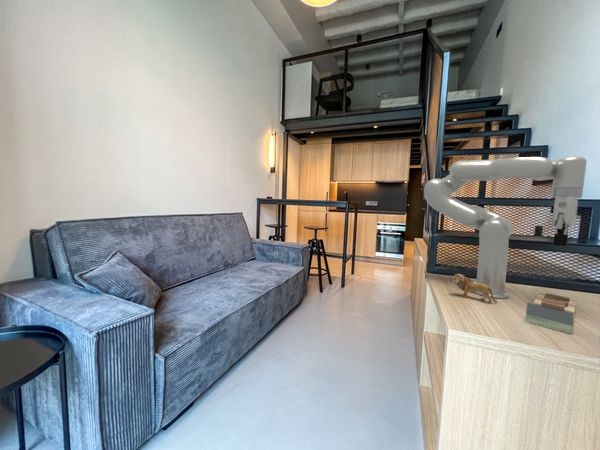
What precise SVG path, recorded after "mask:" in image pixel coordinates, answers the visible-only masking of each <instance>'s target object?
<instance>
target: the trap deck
mask: <svg viewBox="0 0 600 450" xmlns="http://www.w3.org/2000/svg"><path fill="white" fill-rule="evenodd" d="M543 298H544V299H549V300H553V301H558V302H563V303H565V311H568V312H573V313H574V315H573V321H574V319H575V315H576V314H575V313H576V307H577V298H574V297H569V296H563V295H559V294H554V293H549V292H544V291H539V293H538V295H537V296H536V298H535V299H534V301H533V302H532V303H534V304H538V305H541V302H542V300H543ZM524 322H525V323H529V324H533V325H536V326H539V325H541V326H540V327H543V326H545V327H544V328H547V327H549V328H548V329H550V328H552V329H551V330H554V329H555V331H557V330H559V331H558V332H561V331H563V332H562V333H565V332H566V333H565V334H568V333H569V335H572V332H573V331H572V330H573V324H574V322H573V323H572V326H571V325H567V324H563V323H559V322H555V321H551V320H547V319H543V318H540V317H536V316H532V315H528V314H526V313H525V321H524Z"/></svg>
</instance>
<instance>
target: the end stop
mask: <svg viewBox="0 0 600 450" xmlns="http://www.w3.org/2000/svg"><path fill="white" fill-rule="evenodd" d="M526 304H527V305H526V313H525V315H526V314H528V315H532V316H536V317H540V318H543V319H547V320H551V321H555V322H559V323H563V324H567V325H571V326H572V323H573V324H574V320H573V315H574V316H575V314H574V313H573V312H568V311H564V310H560V309H555V308H551V307H547V306H542V305H538V304H534V303H533V302H529V301H528V302H527V303H526ZM572 327H573V326H572Z"/></svg>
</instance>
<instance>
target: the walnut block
mask: <svg viewBox="0 0 600 450" xmlns="http://www.w3.org/2000/svg"><path fill="white" fill-rule="evenodd" d="M541 305H542V306H547V307H551V308H555V309H560V310H564V311H565V303H563V302H558V301H553V300H549V299H544V298H543V300H542V302H541Z"/></svg>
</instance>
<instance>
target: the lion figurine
mask: <svg viewBox="0 0 600 450" xmlns="http://www.w3.org/2000/svg"><path fill="white" fill-rule="evenodd" d="M472 281H473V280H471V279H470V278H468V277H467V276H465V275H464V274H461V273H456V274H454V275H453V284H454V285H455V286H457V287H458V289H460V290H462V291H463V294H462V298H463V299H467V298H468V293H469V292H471V293H474V292H480V291H481V292H482V294H483V295H484V296H483V297H481V298H480V300H481V301H485V300H486V299H487V300H488V301H487V302H486V303H487V304H488V305H491V304H492V303H493V302H494V303H496V304H497V303H498V301H497V299H496V300H495V298H493V294H492V290H491V288H490V287H489V286H488V285H486V284H478V283H473V282H472ZM488 291H490V294H491V297H492V298H491V297H490V296H489V294H488ZM492 301H493V302H492Z"/></svg>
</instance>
